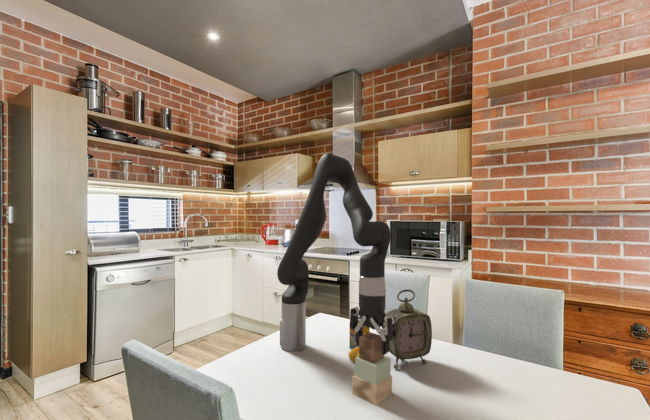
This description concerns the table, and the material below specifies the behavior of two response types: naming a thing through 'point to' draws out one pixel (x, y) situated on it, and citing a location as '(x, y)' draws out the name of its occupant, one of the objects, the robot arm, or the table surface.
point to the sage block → (372, 370)
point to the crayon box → (353, 336)
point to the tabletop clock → (410, 332)
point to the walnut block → (370, 347)
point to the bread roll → (354, 354)
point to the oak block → (371, 389)
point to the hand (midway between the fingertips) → (372, 349)
